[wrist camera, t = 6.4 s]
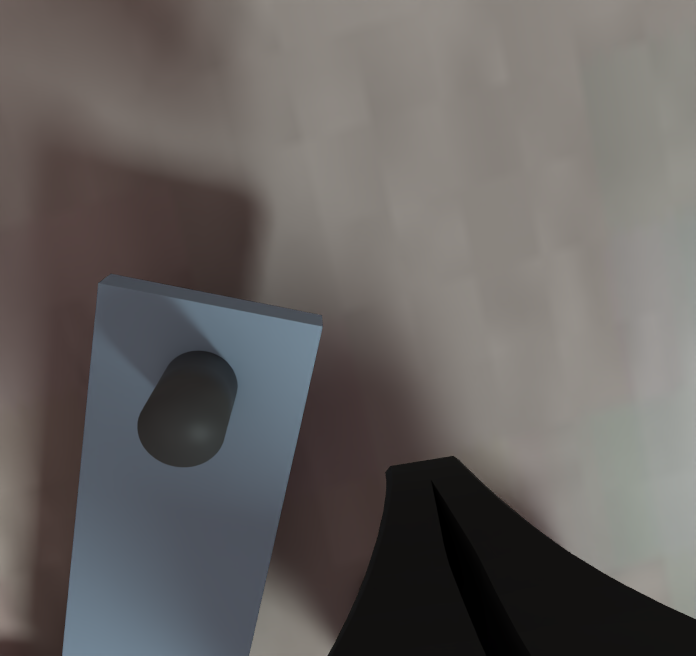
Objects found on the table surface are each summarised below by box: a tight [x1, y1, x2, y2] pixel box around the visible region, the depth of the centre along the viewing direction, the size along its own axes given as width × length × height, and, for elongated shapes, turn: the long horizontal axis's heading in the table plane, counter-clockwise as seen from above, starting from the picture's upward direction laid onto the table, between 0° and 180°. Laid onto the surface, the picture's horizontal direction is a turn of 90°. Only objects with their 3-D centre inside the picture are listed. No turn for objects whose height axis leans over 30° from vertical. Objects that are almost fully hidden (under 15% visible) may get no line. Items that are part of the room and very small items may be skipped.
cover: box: [62, 274, 323, 656], centre depth 17 cm, size 18×6×4 cm, turn 167°
